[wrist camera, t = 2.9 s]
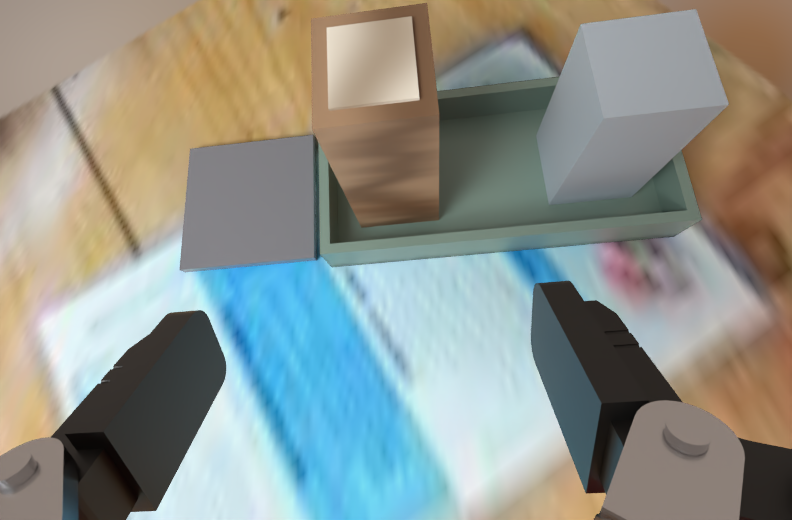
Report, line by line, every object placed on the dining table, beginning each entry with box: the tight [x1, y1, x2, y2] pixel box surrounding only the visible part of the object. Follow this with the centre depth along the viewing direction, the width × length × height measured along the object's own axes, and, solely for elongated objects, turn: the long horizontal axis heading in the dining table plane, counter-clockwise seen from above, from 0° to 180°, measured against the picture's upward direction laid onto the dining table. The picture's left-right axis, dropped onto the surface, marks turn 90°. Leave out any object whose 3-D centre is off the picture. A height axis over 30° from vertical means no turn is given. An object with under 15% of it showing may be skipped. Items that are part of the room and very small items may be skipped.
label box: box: [311, 3, 439, 228], centre depth 22 cm, size 5×6×11 cm
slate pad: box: [180, 135, 317, 272], centre depth 28 cm, size 9×9×1 cm
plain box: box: [536, 9, 729, 205], centre depth 22 cm, size 5×5×9 cm
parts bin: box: [319, 77, 702, 267], centre depth 26 cm, size 21×10×3 cm, turn 94°
